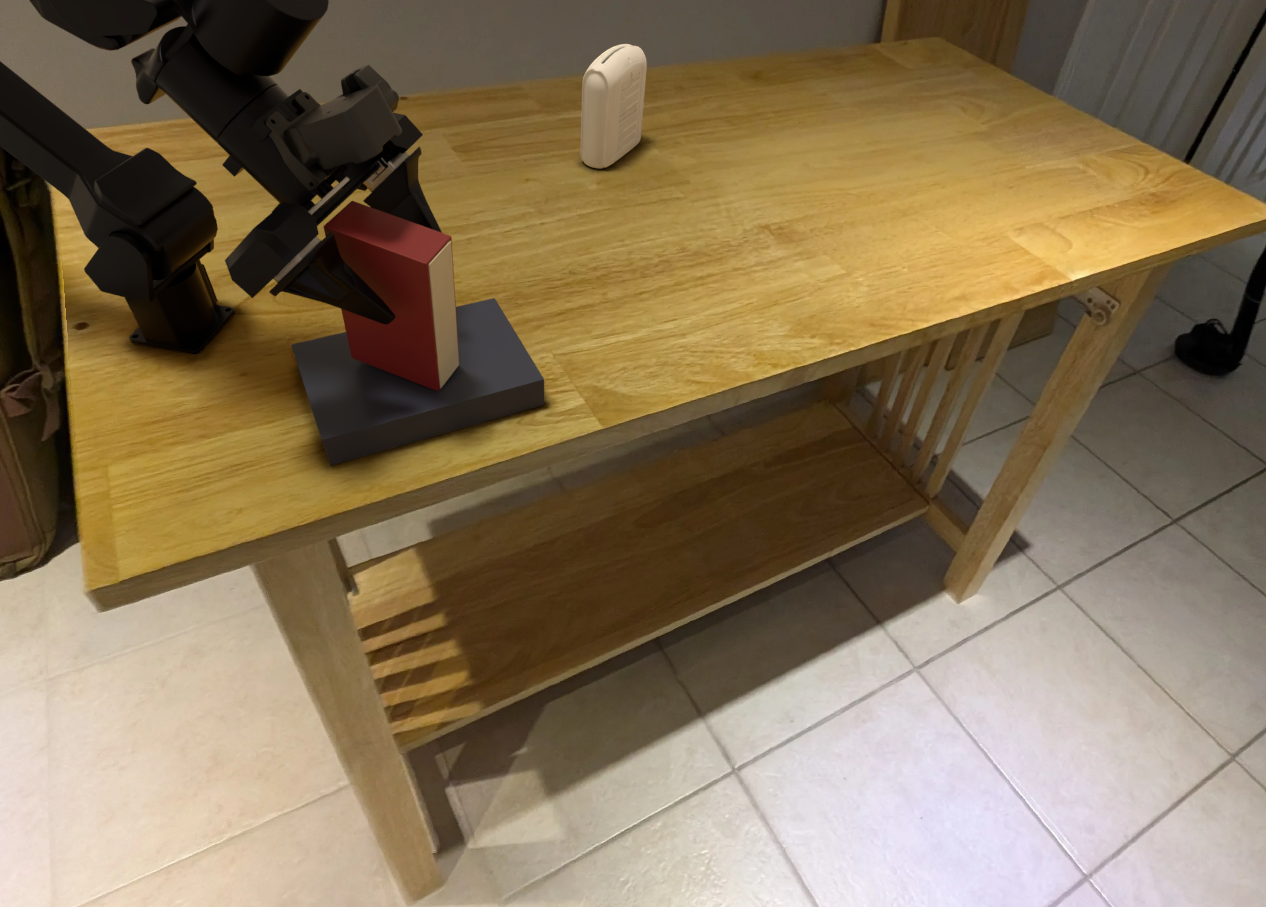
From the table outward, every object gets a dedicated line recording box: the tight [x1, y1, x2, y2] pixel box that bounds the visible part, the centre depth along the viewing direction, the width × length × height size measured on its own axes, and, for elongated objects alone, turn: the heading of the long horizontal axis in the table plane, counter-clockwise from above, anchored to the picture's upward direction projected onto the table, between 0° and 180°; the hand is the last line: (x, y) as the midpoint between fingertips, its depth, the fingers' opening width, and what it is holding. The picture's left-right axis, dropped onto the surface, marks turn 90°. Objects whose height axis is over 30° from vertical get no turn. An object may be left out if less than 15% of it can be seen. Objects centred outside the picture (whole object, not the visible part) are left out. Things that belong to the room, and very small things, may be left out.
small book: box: [323, 200, 459, 391], centre depth 60 cm, size 8×4×13 cm, turn 70°
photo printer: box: [580, 43, 648, 169], centre depth 95 cm, size 10×4×12 cm, turn 151°
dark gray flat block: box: [290, 297, 546, 467], centre depth 67 cm, size 18×12×3 cm, turn 117°
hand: (420, 286), depth 60 cm, fingers open, 9 cm apart
